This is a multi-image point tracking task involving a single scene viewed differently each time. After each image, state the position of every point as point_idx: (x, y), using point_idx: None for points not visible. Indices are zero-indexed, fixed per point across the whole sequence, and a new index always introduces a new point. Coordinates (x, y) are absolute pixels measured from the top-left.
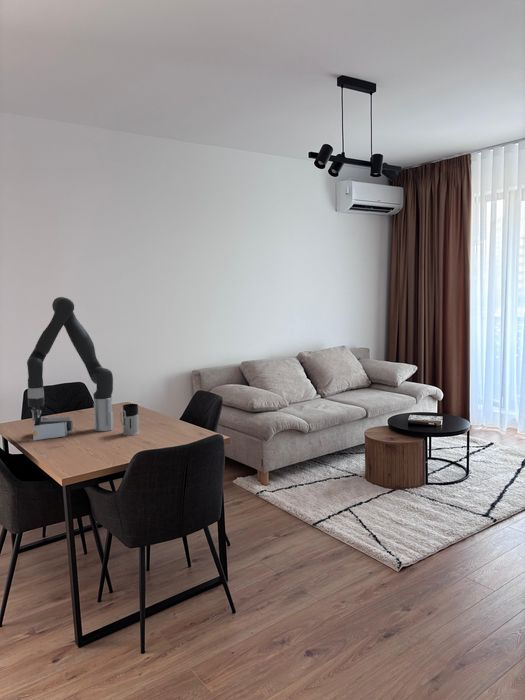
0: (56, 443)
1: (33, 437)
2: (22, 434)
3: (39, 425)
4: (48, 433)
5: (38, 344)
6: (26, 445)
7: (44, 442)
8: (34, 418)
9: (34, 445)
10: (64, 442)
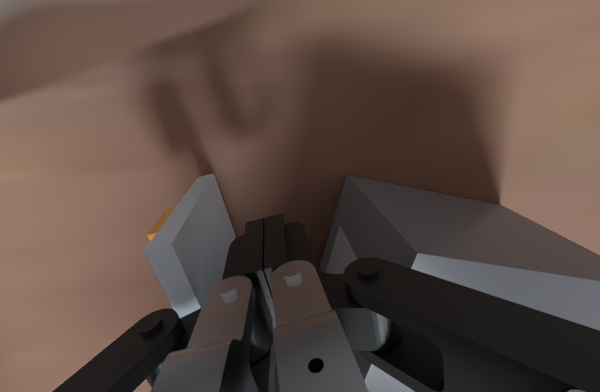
0: (82, 346)
1: (192, 186)
2: (524, 38)
3: None
4: None
5: None
6: (25, 124)
7: (130, 265)
8: (171, 384)
9: (21, 199)
10: None
